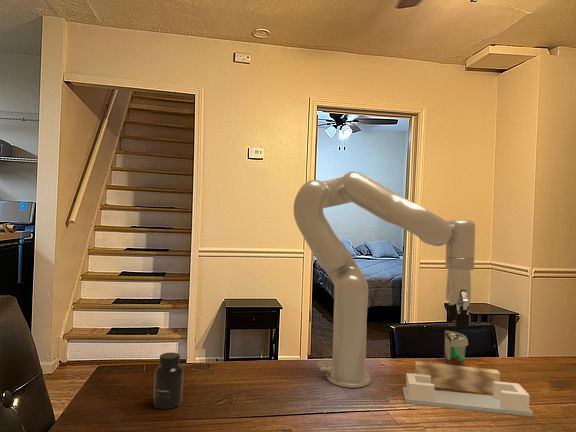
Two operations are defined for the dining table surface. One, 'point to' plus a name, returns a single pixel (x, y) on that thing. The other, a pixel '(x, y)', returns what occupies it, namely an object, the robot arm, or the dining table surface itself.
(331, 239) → the robot arm
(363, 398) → the dining table surface
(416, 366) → the slat
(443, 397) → the frame
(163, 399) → the supplement bottle
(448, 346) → the food container
